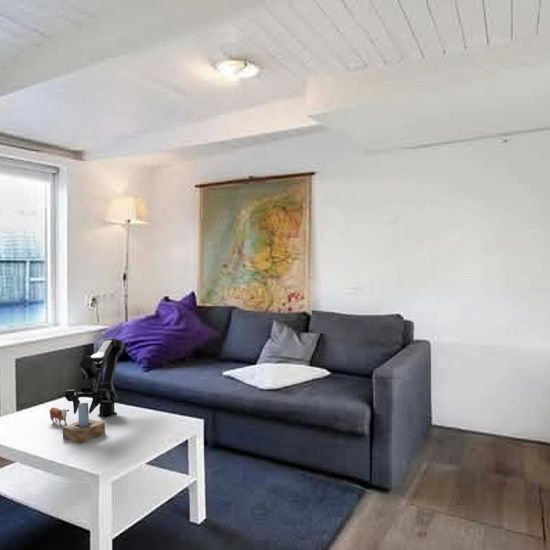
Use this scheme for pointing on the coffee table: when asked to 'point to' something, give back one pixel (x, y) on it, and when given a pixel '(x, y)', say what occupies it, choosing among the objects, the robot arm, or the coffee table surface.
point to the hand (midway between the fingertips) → (82, 413)
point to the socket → (83, 431)
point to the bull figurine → (58, 415)
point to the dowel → (83, 415)
